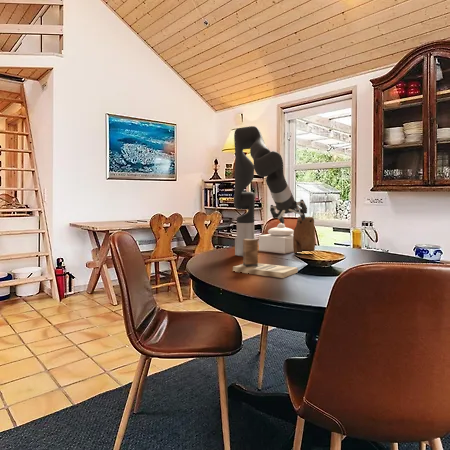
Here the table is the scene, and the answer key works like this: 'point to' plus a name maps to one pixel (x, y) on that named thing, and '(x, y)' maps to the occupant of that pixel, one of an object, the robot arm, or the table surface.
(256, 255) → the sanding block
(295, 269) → the board
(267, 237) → the white lidded container
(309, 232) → the brown plush animal
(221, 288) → the table surface
